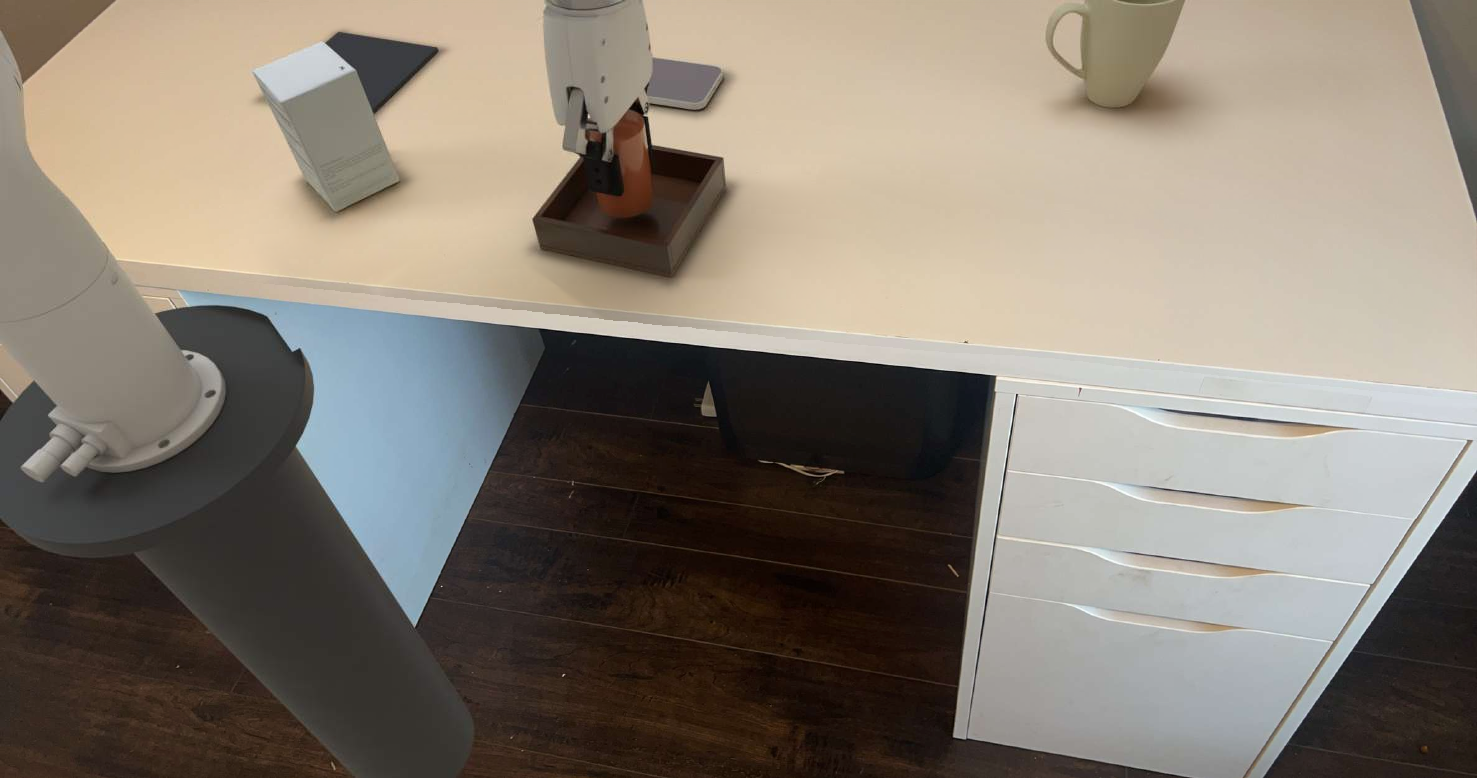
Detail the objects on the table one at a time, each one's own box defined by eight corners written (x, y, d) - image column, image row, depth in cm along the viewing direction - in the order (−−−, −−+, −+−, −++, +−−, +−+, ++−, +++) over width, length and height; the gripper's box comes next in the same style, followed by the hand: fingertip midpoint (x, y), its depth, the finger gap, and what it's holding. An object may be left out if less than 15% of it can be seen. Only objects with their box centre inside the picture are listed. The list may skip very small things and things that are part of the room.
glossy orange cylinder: (640, 222, 89) (628, 147, 83) (588, 211, 90) (573, 136, 84) (663, 188, 92) (654, 113, 86) (613, 178, 93) (600, 103, 87)
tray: (671, 277, 87) (667, 247, 84) (540, 248, 91) (531, 219, 88) (726, 187, 95) (723, 157, 92) (603, 164, 99) (597, 134, 96)
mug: (1086, 57, 105) (1110, -54, 96) (1173, 89, 101) (1208, -25, 92) (1028, 104, 101) (1048, -9, 92) (1117, 140, 96) (1148, 24, 87)
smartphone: (701, 105, 103) (571, 85, 106) (702, 112, 103) (572, 92, 107) (725, 66, 107) (599, 49, 111) (726, 74, 108) (600, 56, 112)
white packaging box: (370, 150, 103) (324, 38, 93) (402, 182, 99) (357, 68, 89) (303, 180, 100) (248, 68, 90) (333, 215, 96) (279, 101, 86)
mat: (369, 118, 107) (367, 114, 106) (265, 98, 111) (263, 94, 110) (438, 50, 115) (437, 47, 115) (339, 35, 119) (338, 31, 119)
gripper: (595, -80, 81) (624, 113, 95) (488, 22, 71) (539, 222, 84) (679, -69, 79) (697, 126, 93) (582, 37, 69) (618, 239, 82)
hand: (621, 170), depth 89 cm, fingers closed on glossy orange cylinder, 5 cm apart
